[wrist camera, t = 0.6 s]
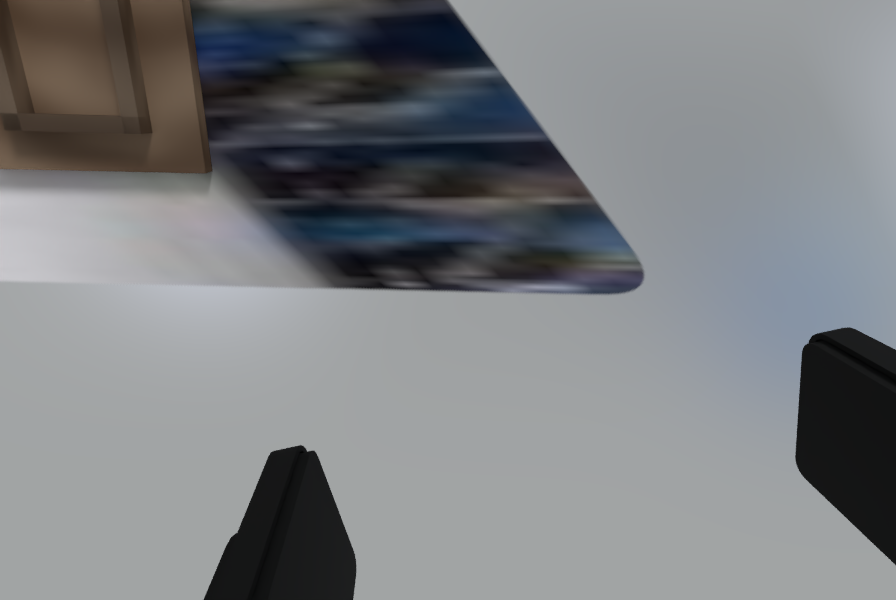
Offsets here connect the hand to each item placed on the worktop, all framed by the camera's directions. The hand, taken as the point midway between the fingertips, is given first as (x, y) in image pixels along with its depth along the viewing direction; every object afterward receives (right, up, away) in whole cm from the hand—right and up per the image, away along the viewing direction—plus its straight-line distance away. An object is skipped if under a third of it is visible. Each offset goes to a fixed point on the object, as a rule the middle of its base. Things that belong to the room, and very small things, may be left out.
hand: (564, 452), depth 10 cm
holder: (-25, +20, +22) cm, 39 cm away
